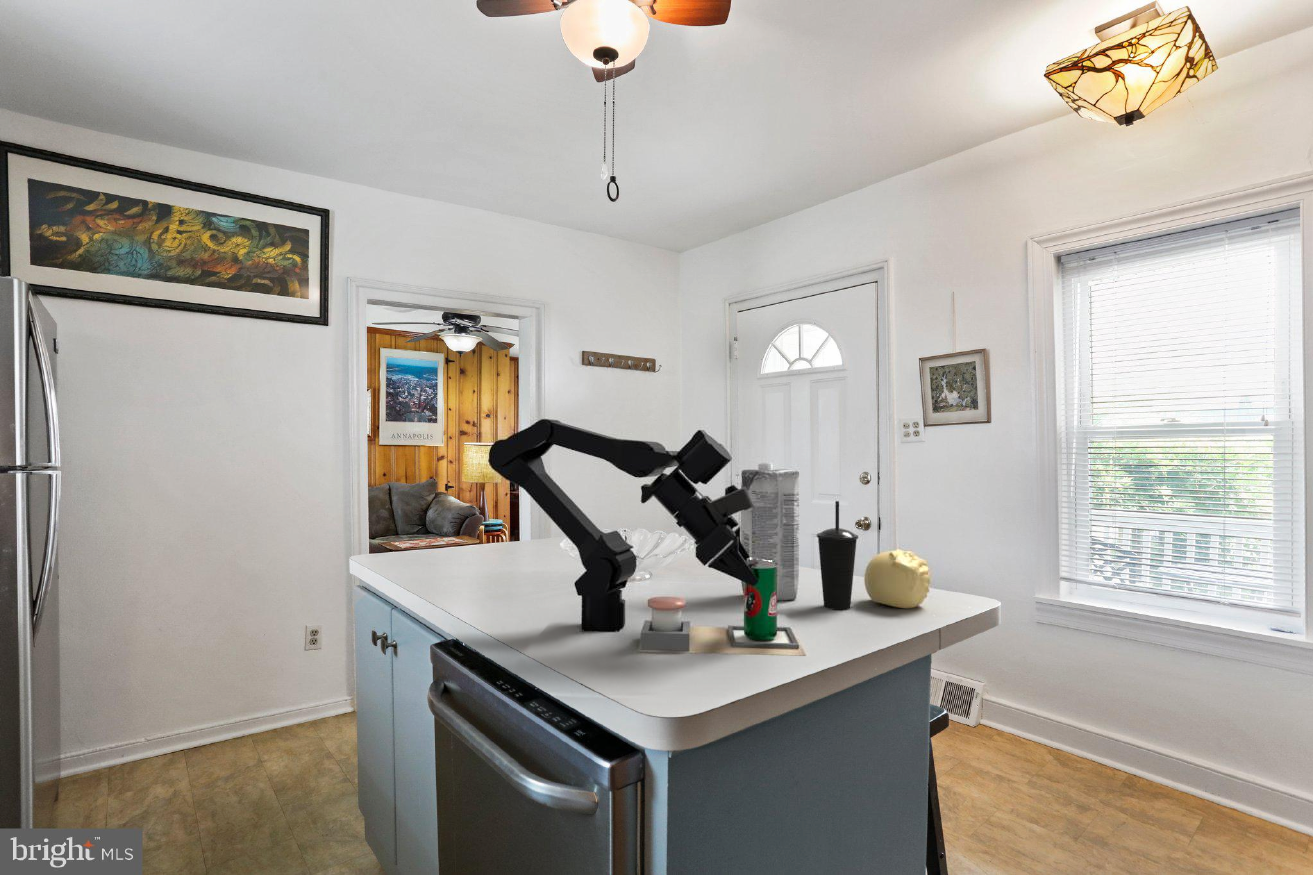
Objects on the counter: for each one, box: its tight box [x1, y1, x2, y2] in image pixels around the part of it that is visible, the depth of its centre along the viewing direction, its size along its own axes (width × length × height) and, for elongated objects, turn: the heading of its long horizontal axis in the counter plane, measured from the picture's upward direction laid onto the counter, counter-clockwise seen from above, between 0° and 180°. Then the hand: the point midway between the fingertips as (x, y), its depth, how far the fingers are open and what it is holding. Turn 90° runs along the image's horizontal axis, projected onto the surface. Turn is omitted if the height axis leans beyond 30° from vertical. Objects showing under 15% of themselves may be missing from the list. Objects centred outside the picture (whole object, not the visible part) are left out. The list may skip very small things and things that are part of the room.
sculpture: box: [863, 548, 931, 609], centre depth 129 cm, size 12×12×11 cm
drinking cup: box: [816, 500, 859, 611], centre depth 127 cm, size 8×8×20 cm
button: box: [647, 596, 686, 632], centre depth 100 cm, size 6×6×4 cm
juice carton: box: [740, 462, 800, 602], centre depth 134 cm, size 9×10×27 cm
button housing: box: [640, 620, 691, 651], centre depth 99 cm, size 7×7×2 cm
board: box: [636, 625, 807, 657], centre depth 102 cm, size 24×14×1 cm, turn 86°
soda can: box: [743, 557, 778, 641], centre depth 103 cm, size 5×5×12 cm
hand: (756, 577), depth 103 cm, fingers open, 9 cm apart
